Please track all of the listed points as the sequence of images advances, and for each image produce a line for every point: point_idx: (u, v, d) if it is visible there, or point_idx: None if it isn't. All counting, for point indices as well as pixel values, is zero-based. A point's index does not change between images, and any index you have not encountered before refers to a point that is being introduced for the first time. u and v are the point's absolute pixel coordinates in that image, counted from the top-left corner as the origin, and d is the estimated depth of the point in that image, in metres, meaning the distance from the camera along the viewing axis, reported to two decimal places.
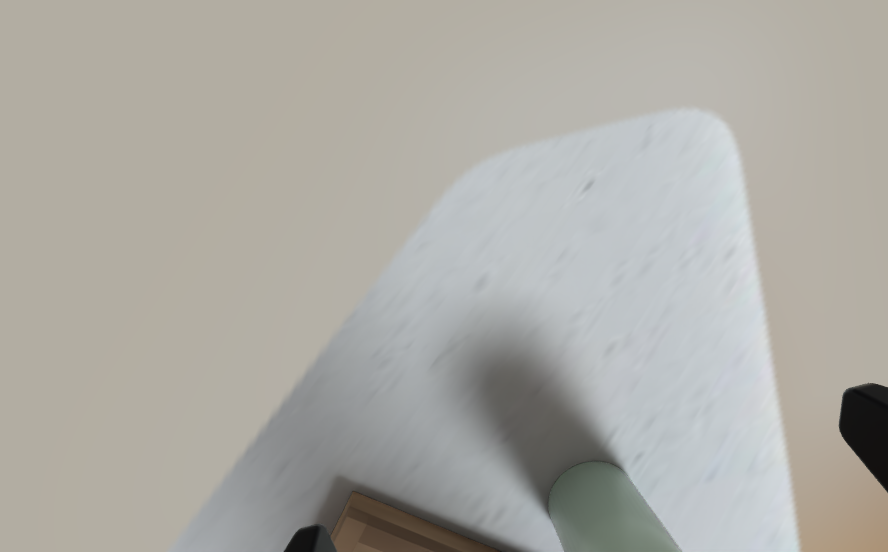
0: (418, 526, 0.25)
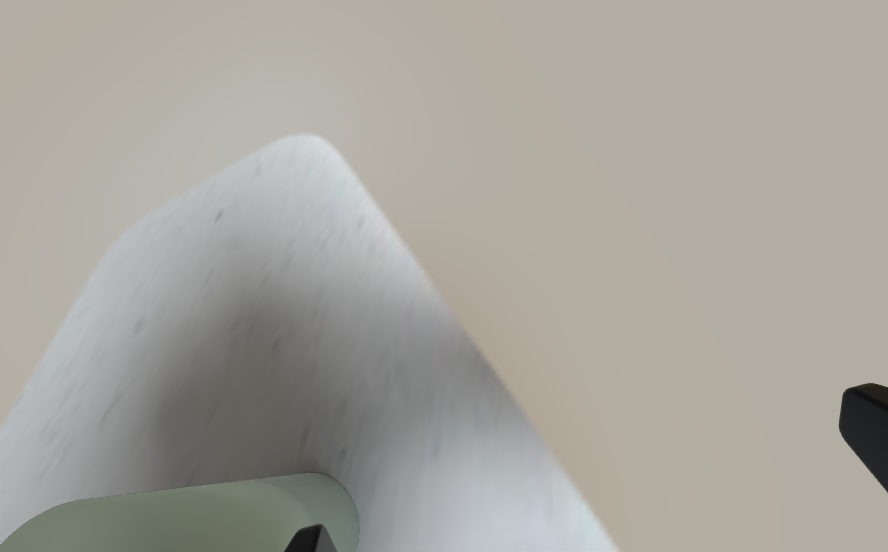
0: None
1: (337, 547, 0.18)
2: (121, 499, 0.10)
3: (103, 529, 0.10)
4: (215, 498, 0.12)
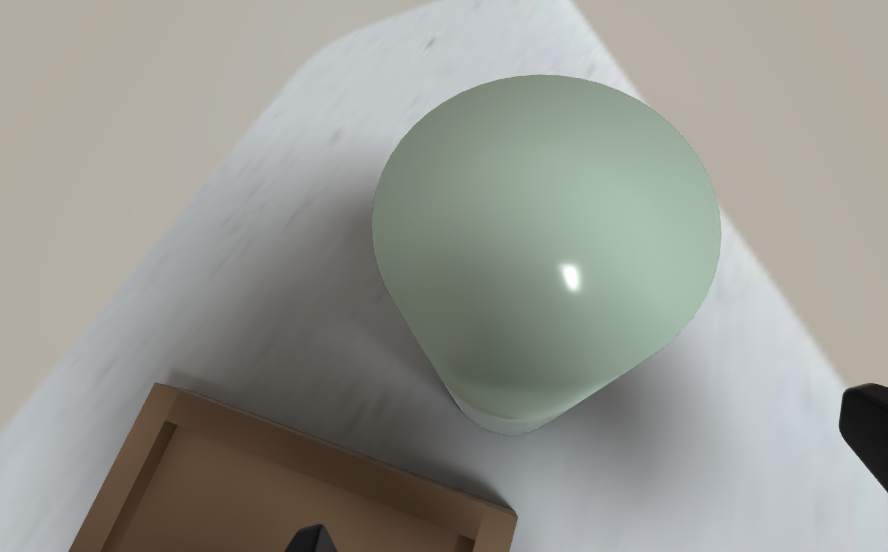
0: (263, 419, 0.18)
1: None
2: None
3: (577, 108, 0.07)
4: None
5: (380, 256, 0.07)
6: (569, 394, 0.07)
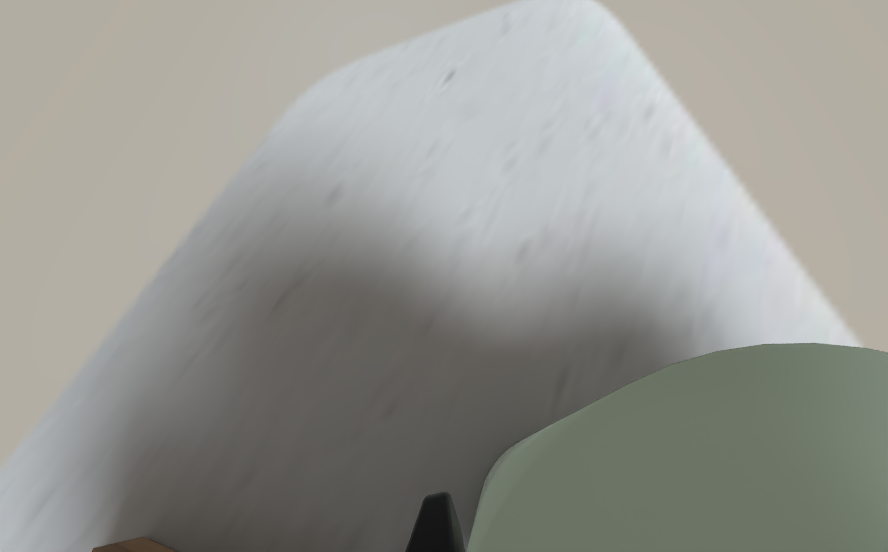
0: None
1: None
2: None
3: None
4: None
5: None
6: None
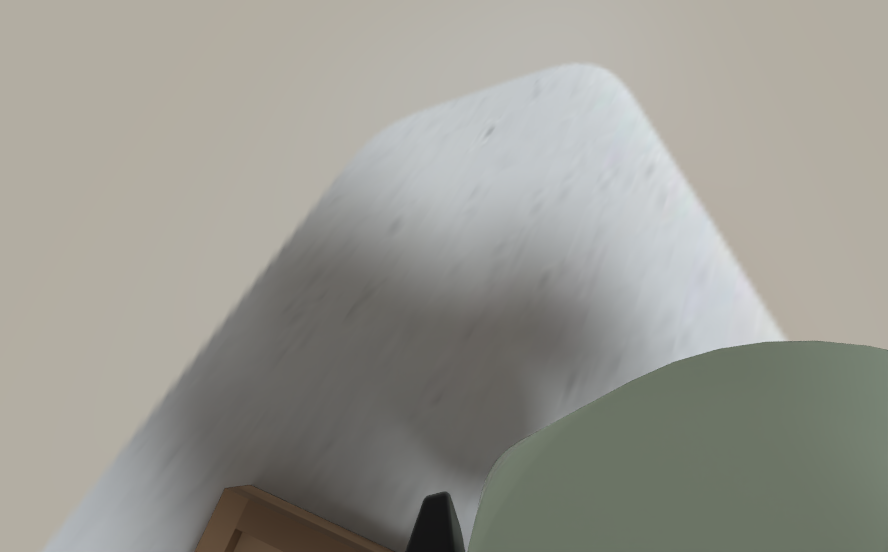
0: (326, 524, 0.18)
1: None
2: None
3: None
4: None
5: None
6: None
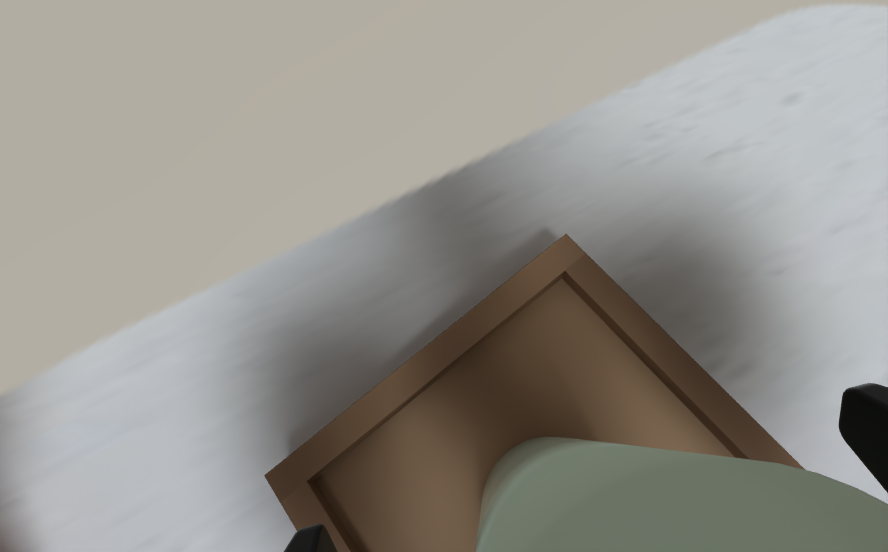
0: None
1: None
2: None
3: (823, 543, 0.04)
4: None
5: None
6: None
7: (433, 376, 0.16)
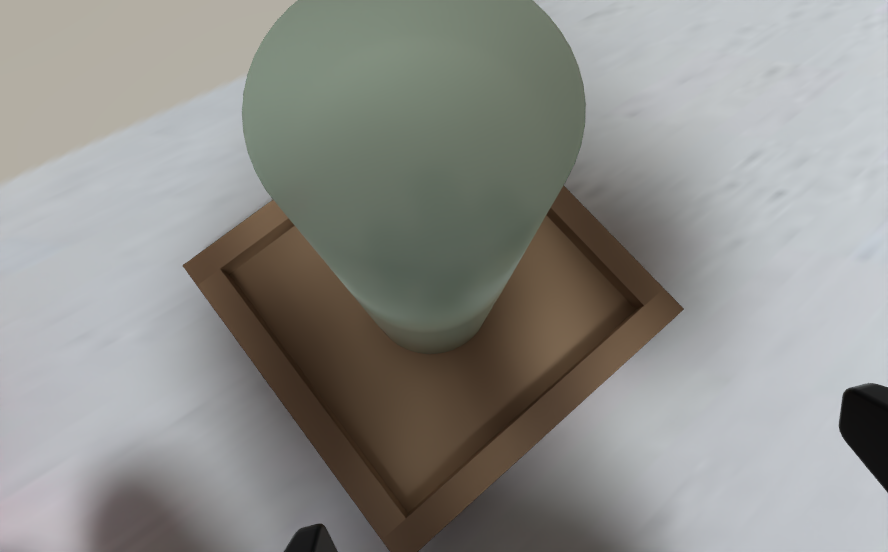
0: None
1: None
2: None
3: None
4: None
5: (250, 140, 0.06)
6: (446, 282, 0.07)
7: None
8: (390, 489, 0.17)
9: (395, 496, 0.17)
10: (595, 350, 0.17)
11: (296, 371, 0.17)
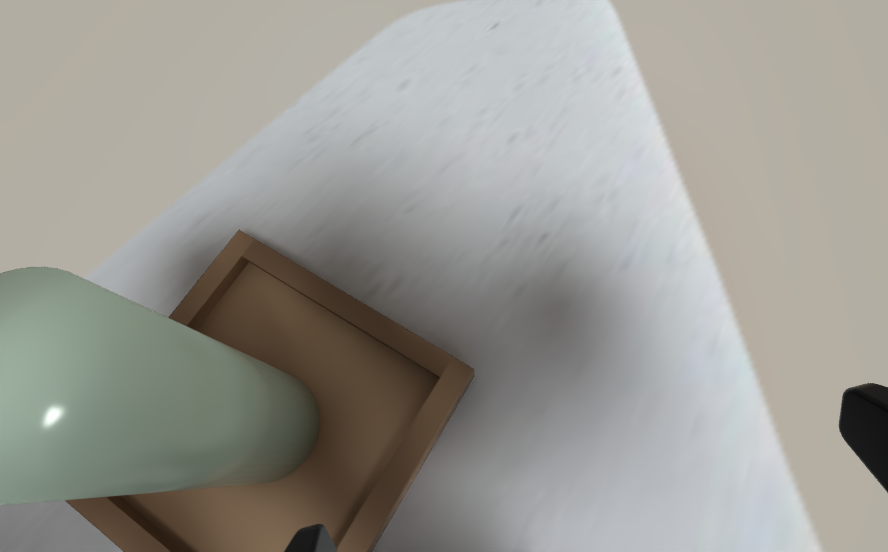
0: None
1: (293, 409, 0.18)
2: None
3: (28, 290, 0.10)
4: None
5: None
6: (79, 486, 0.10)
7: None
8: None
9: None
10: (408, 430, 0.20)
11: (158, 540, 0.19)
